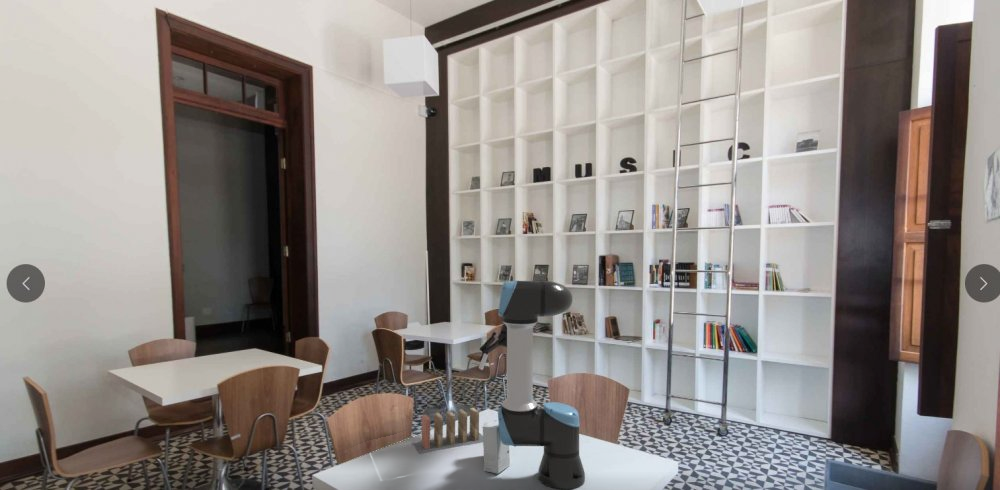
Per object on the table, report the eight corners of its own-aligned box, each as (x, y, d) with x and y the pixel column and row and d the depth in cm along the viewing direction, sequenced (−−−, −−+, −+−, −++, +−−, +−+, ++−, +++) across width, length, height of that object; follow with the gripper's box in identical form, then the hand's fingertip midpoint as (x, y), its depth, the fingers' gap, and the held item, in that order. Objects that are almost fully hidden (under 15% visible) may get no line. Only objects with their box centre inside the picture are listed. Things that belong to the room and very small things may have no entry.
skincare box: (498, 474, 147) (496, 428, 148) (483, 471, 150) (481, 426, 151) (510, 464, 154) (508, 421, 155) (495, 462, 157) (494, 419, 158)
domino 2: (437, 441, 174) (438, 412, 175) (442, 446, 169) (442, 417, 170) (433, 441, 174) (434, 413, 174) (438, 447, 168) (438, 418, 169)
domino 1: (425, 443, 172) (425, 414, 173) (429, 448, 167) (430, 419, 167) (421, 443, 172) (421, 415, 172) (425, 449, 166) (426, 419, 167)
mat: (478, 432, 184) (478, 431, 184) (488, 442, 175) (488, 441, 175) (411, 443, 173) (411, 442, 173) (419, 454, 163) (419, 453, 163)
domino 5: (473, 435, 181) (473, 407, 181) (478, 440, 175) (479, 412, 176) (469, 435, 180) (469, 408, 181) (475, 440, 175) (475, 412, 175)
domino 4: (461, 437, 179) (461, 409, 179) (467, 442, 173) (467, 413, 174) (457, 437, 178) (458, 409, 179) (463, 443, 173) (463, 414, 173)
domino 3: (450, 438, 177) (450, 410, 177) (455, 444, 171) (455, 415, 172) (446, 439, 176) (446, 411, 176) (451, 445, 170) (451, 416, 171)
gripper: (540, 335, 187) (523, 384, 180) (491, 322, 200) (473, 367, 192) (534, 330, 181) (517, 380, 174) (484, 316, 194) (465, 362, 186)
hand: (494, 373), depth 183 cm, fingers open, 13 cm apart
